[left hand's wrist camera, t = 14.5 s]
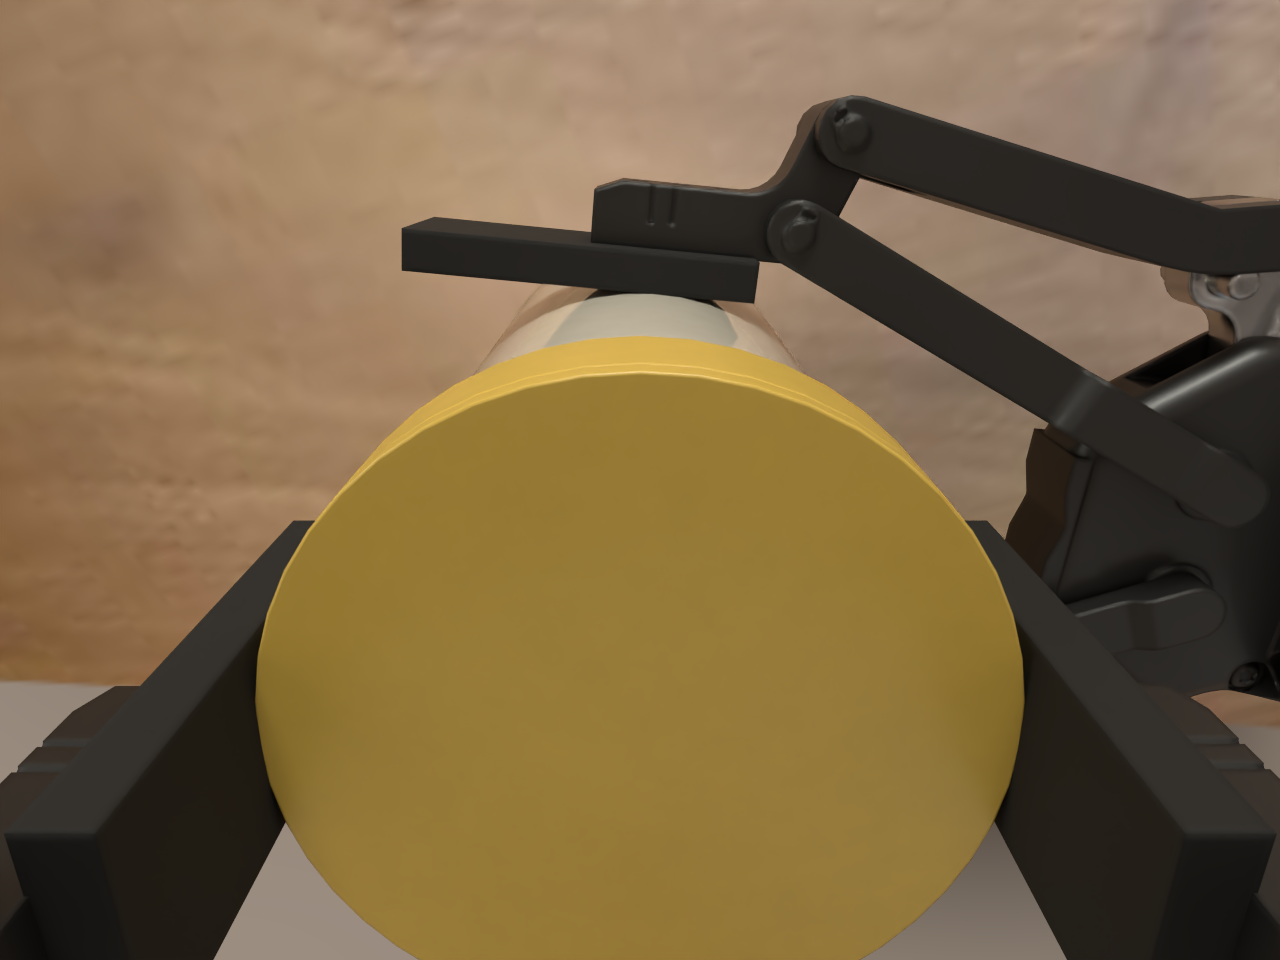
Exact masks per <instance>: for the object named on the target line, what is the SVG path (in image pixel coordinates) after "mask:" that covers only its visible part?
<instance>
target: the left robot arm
mask: <svg viewBox="0 0 1280 960" xmlns="http://www.w3.org/2000/svg"><path fill="white" fill-rule="evenodd" d="M314 522H315V521H293V522H292V523H291V524H290V525H289V526H288V527H287V528H286V529H285V530H284V532H283V533H282V534H281V535H280V536H279V537H278V538H277V539H276V540H275V541H274V542H273V543H272V545H271V546H270V547H269V548H268V549H267V550H266V551H265V552H264V553H263V554H262V555H261V556H260V557H259V559H258V560H257V561H256V562H255V563H254V564H253V565H252V566H251V567H250V568H249V569H248V570H247V571H246V573H245V574H244V575H243V576H242V577H241V578H240V579H239V580H238V581H237V582H236V583H235V584H234V585H233V587H232V588H231V589H230V590H229V591H228V592H227V593H226V594H225V595H224V596H223V597H222V598H221V600H220V601H219V602H218V603H217V604H216V605H215V606H214V607H213V608H212V609H211V610H210V611H209V612H208V614H207V615H206V616H205V617H204V618H203V619H202V620H201V621H200V622H199V623H198V624H197V625H196V626H195V628H194V629H193V630H192V631H191V632H190V633H189V634H188V635H187V636H186V637H185V638H184V639H183V641H182V642H181V643H180V644H179V645H178V646H177V647H176V648H175V649H174V650H173V651H172V652H171V653H170V655H169V656H168V657H167V658H166V659H165V660H164V661H163V662H162V663H161V664H160V665H159V666H158V667H157V669H156V670H155V671H154V672H153V673H152V674H151V675H150V676H149V677H148V678H147V679H146V680H145V682H144V683H143V684H142V685H141V686H115V687H113V688H111V689H110V690H108V691H106V692H105V693H103V694H101V695H100V696H98V697H96V698H95V699H93V700H91V701H90V702H88V703H86V704H85V705H83V706H81V707H80V708H78V709H76V710H75V711H73V712H72V713H71V714H70V715H69V716H68V717H67V718H66V719H65V720H64V721H63V722H62V723H61V724H60V725H59V726H58V727H57V728H56V729H55V730H54V731H53V732H52V733H51V734H50V735H49V736H48V737H47V738H46V739H45V740H44V741H43V746H42V747H37V748H36V749H35V750H34V751H33V752H32V753H31V754H30V755H29V756H28V757H27V758H26V759H25V760H24V761H23V762H22V763H21V764H20V765H19V766H18V771H17V773H11V774H10V775H9V776H8V777H7V778H6V779H5V780H3V781H2V782H1V784H0V960H213V959H214V957H215V956H216V954H217V952H218V950H219V948H220V946H221V944H222V942H223V940H224V939H225V937H226V935H227V933H228V931H229V929H230V927H231V925H232V923H233V921H234V919H235V918H236V916H237V914H238V912H239V910H240V908H241V906H242V904H243V902H244V900H245V899H246V897H247V895H248V893H249V891H250V889H251V887H252V885H253V883H254V881H255V879H256V878H257V876H258V874H259V872H260V870H261V868H262V866H263V864H264V862H265V860H266V858H267V857H268V855H269V853H270V851H271V849H272V847H273V845H274V843H275V841H276V839H277V838H278V836H279V834H280V832H281V830H282V828H283V826H284V824H285V822H286V821H285V819H284V817H283V814H282V812H281V810H280V807H279V805H278V802H277V800H276V798H275V795H274V793H273V791H272V788H271V786H270V783H269V779H268V775H267V770H266V765H265V760H264V755H263V750H262V745H261V739H260V733H259V727H258V721H257V714H256V705H255V693H256V675H257V658H258V652H259V648H260V643H261V639H262V634H263V630H264V625H265V621H266V616H267V612H268V610H269V607H270V605H271V602H272V600H273V597H274V595H275V592H276V589H277V587H278V584H279V582H280V579H281V577H282V574H283V572H284V570H285V568H286V566H287V565H288V563H289V561H290V560H291V558H292V556H293V554H294V553H295V551H296V549H297V548H298V546H299V544H300V543H301V541H302V539H303V537H304V536H305V534H306V532H307V531H308V529H309V528H310V527H311V526H312V524H313V523H314ZM965 522H966V523H967V524H968V526H969V527H970V528H971V529H972V530H973V532H974V534H975V535H976V537H977V539H978V541H979V542H980V544H981V546H982V547H983V549H984V551H985V553H986V554H987V556H988V558H989V560H990V561H991V563H992V565H993V566H994V568H995V570H996V572H997V574H998V577H999V579H1000V582H1001V584H1002V587H1003V589H1004V592H1005V595H1006V597H1007V600H1008V602H1009V605H1010V608H1011V610H1012V613H1013V616H1014V620H1015V625H1016V630H1017V635H1018V639H1019V644H1020V649H1021V653H1022V658H1023V678H1024V697H1025V704H1024V714H1023V721H1022V727H1021V733H1020V739H1019V745H1018V750H1017V755H1016V760H1015V765H1014V770H1013V774H1012V778H1011V782H1010V785H1009V788H1008V790H1007V792H1006V795H1005V797H1004V799H1003V802H1002V804H1001V806H1000V809H999V811H998V813H997V816H996V818H995V820H994V821H995V823H996V825H997V827H998V829H999V831H1000V833H1001V835H1002V836H1003V839H1004V840H1005V842H1006V844H1007V846H1008V848H1009V850H1010V852H1011V854H1012V856H1013V858H1014V859H1015V861H1016V863H1017V865H1018V867H1019V869H1020V871H1021V873H1022V875H1023V877H1024V879H1025V880H1026V882H1027V884H1028V886H1029V888H1030V890H1031V892H1032V894H1033V896H1034V898H1035V899H1036V901H1037V903H1038V905H1039V907H1040V909H1041V911H1042V913H1043V915H1044V917H1045V919H1046V920H1047V922H1048V924H1049V926H1050V928H1051V930H1052V932H1053V934H1054V936H1055V938H1056V940H1057V941H1058V943H1059V945H1060V947H1061V949H1062V951H1063V953H1064V955H1065V957H1066V959H1067V960H1280V779H1279V778H1278V777H1277V776H1276V775H1275V774H1274V773H1273V772H1272V771H1271V770H1270V769H1264V766H1263V765H1264V763H1263V762H1262V761H1261V760H1260V759H1259V758H1258V757H1257V756H1256V755H1255V754H1254V753H1253V752H1252V751H1251V750H1250V749H1249V748H1248V747H1247V746H1246V745H1245V744H1239V741H1238V737H1237V736H1236V735H1235V734H1234V733H1233V732H1232V731H1231V730H1230V729H1229V728H1228V727H1227V726H1226V725H1225V724H1224V723H1223V722H1222V721H1221V720H1220V719H1219V718H1218V717H1217V716H1216V715H1215V714H1214V713H1213V712H1212V711H1211V710H1210V709H1208V708H1207V707H1205V706H1203V705H1202V704H1200V703H1198V702H1197V701H1195V700H1193V699H1192V698H1190V697H1188V696H1187V695H1185V694H1183V693H1181V692H1180V691H1178V690H1176V689H1175V688H1173V687H1171V686H1170V685H1168V684H1166V683H1137V682H1136V681H1135V680H1134V679H1133V678H1132V677H1131V676H1130V674H1129V673H1128V672H1127V671H1126V670H1125V669H1124V668H1123V667H1122V666H1121V665H1120V664H1119V663H1118V662H1117V660H1116V659H1115V658H1114V657H1113V656H1112V655H1111V654H1110V653H1109V652H1108V651H1107V650H1106V649H1105V648H1104V646H1103V645H1102V644H1101V643H1100V642H1099V641H1098V640H1097V639H1096V638H1095V637H1094V636H1093V635H1092V633H1091V632H1090V631H1089V630H1088V629H1087V628H1086V627H1085V626H1084V625H1083V624H1082V623H1081V622H1080V621H1079V619H1078V618H1077V617H1076V616H1075V615H1074V614H1073V613H1072V612H1071V611H1070V610H1069V609H1068V608H1067V607H1066V605H1065V604H1064V603H1063V602H1062V601H1061V600H1060V599H1059V598H1058V597H1057V596H1056V595H1055V594H1054V593H1053V591H1052V590H1051V589H1050V588H1049V587H1048V586H1047V585H1046V584H1045V583H1044V582H1043V581H1042V580H1041V578H1040V577H1039V576H1038V575H1037V574H1036V573H1035V572H1034V571H1033V570H1032V569H1031V568H1030V567H1029V566H1028V564H1027V563H1026V562H1025V561H1024V560H1023V559H1022V558H1021V557H1020V556H1019V555H1018V554H1017V553H1016V552H1015V550H1014V549H1013V548H1012V547H1011V546H1010V545H1009V544H1008V543H1007V542H1006V541H1005V540H1004V539H1003V538H1002V536H1001V535H1000V534H999V533H998V532H997V531H996V530H995V529H994V528H993V527H992V526H991V525H990V523H989V522H988V521H965Z"/></svg>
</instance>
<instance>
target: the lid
mask: <svg viewBox="0 0 1280 960" xmlns="http://www.w3.org/2000/svg"><path fill="white" fill-rule="evenodd" d="M1024 704H1025V697H1024V678H1023V658H1022V653H1021V649H1020V644H1019V639H1018V635H1017V630H1016V625H1015V620H1014V616H1013V613H1012V610H1011V608H1010V605H1009V602H1008V600H1007V597H1006V595H1005V592H1004V589H1003V587H1002V584H1001V582H1000V579H999V577H998V574H997V572H996V570H995V568H994V566H993V565H992V563H991V561H990V560H989V558H988V556H987V554H986V553H985V551H984V549H983V547H982V546H981V544H980V542H979V541H978V539H977V537H976V535H975V534H974V532H973V530H972V529H971V528H970V527H969V526H968V524H967V523H966V522H965V521H964V519H963V518H962V517H961V516H960V514H959V513H958V512H957V511H956V509H955V508H954V507H953V506H952V505H951V503H950V502H949V501H948V500H947V498H946V497H945V496H944V495H943V493H942V492H941V491H940V490H939V489H938V488H937V486H936V485H935V484H934V483H933V482H932V481H931V480H930V478H929V477H928V476H927V475H926V474H925V473H924V472H923V470H922V469H921V468H920V467H919V466H918V465H917V464H916V462H915V461H914V460H913V459H912V458H911V457H910V456H909V454H908V453H907V452H906V451H905V450H904V449H903V448H902V446H901V445H900V444H899V443H898V442H897V441H896V440H895V439H894V438H893V437H892V436H890V435H889V434H888V433H887V432H886V431H885V430H884V429H883V428H882V427H881V426H880V425H879V424H877V423H876V422H875V421H874V420H873V419H872V418H871V417H870V416H869V415H868V414H867V413H866V412H864V411H863V410H861V409H860V408H858V407H857V406H856V405H854V404H853V403H851V402H850V401H848V400H847V399H845V398H844V397H842V396H841V395H840V394H838V393H837V392H835V391H834V390H832V389H831V388H829V387H828V386H826V385H824V384H822V383H820V382H818V381H816V380H814V379H812V378H810V377H808V376H806V375H804V374H802V373H800V372H798V371H796V370H794V369H792V368H790V367H788V366H786V365H784V364H782V363H779V362H776V361H773V360H770V359H767V358H764V357H761V356H758V355H755V354H752V353H749V352H747V351H744V350H741V349H737V348H732V347H727V346H722V345H717V344H712V343H707V342H702V341H697V340H692V339H681V338H666V337H651V336H630V337H614V338H598V339H588V340H583V341H578V342H573V343H568V344H563V345H558V346H553V347H547V348H543V349H540V350H537V351H534V352H531V353H528V354H525V355H522V356H519V357H516V358H513V359H510V360H507V361H504V362H501V363H498V364H496V365H494V366H492V367H490V368H488V369H486V370H484V371H482V372H480V373H478V374H476V375H474V376H471V377H469V378H467V379H465V380H463V381H461V382H459V383H457V384H455V385H454V386H452V387H451V388H449V389H448V390H446V391H445V392H443V393H442V394H440V395H439V396H437V397H436V398H435V399H433V400H432V401H430V402H429V403H427V404H426V405H424V406H423V407H421V408H420V409H418V410H417V411H416V412H415V413H413V414H412V415H411V416H410V417H409V418H408V419H407V420H406V421H405V422H404V423H402V424H401V425H400V426H399V427H398V428H397V429H396V430H395V431H394V432H393V433H391V434H390V435H389V436H388V437H387V438H386V439H385V440H384V441H383V442H382V443H381V444H380V445H379V446H378V448H377V449H376V450H375V451H374V452H373V453H372V454H371V456H370V457H369V458H368V459H367V460H366V461H365V463H364V464H363V465H362V466H361V467H360V468H359V469H358V471H357V472H356V473H355V474H354V475H353V476H352V478H351V479H350V480H349V481H348V482H347V483H346V484H345V486H344V487H343V488H342V489H341V490H340V491H339V493H338V494H337V495H336V496H335V497H334V499H333V500H332V501H331V502H330V504H329V505H328V506H327V507H326V508H325V510H324V511H323V512H322V513H321V515H320V516H319V517H318V518H317V519H316V521H315V522H314V523H313V524H312V526H311V527H310V528H309V529H308V531H307V532H306V534H305V536H304V537H303V539H302V541H301V543H300V544H299V546H298V548H297V549H296V551H295V553H294V554H293V556H292V558H291V560H290V561H289V563H288V565H287V566H286V568H285V570H284V572H283V574H282V577H281V579H280V582H279V584H278V587H277V589H276V592H275V595H274V597H273V600H272V602H271V605H270V607H269V610H268V612H267V616H266V621H265V625H264V630H263V634H262V639H261V643H260V648H259V652H258V658H257V675H256V693H255V705H256V714H257V721H258V727H259V733H260V739H261V745H262V750H263V755H264V760H265V765H266V770H267V775H268V779H269V783H270V786H271V788H272V791H273V793H274V795H275V798H276V800H277V802H278V805H279V807H280V810H281V812H282V814H283V817H284V819H285V821H286V823H287V825H288V827H289V828H290V830H291V832H292V833H293V835H294V837H295V838H296V840H297V842H298V843H299V845H300V847H301V848H302V850H303V852H304V853H305V855H306V857H307V858H308V860H309V861H310V862H311V863H312V865H313V866H314V867H315V868H316V870H317V871H318V872H319V874H320V875H321V876H322V877H323V879H324V880H325V881H326V882H327V884H328V885H329V886H330V887H331V889H332V890H333V891H334V892H335V893H336V894H337V895H338V896H339V897H340V898H341V899H342V900H343V901H344V902H345V903H346V904H347V905H348V906H349V907H350V908H351V909H352V910H353V911H354V912H355V913H356V914H357V915H358V916H359V917H360V918H361V919H362V920H364V921H365V922H366V923H367V924H369V925H370V926H371V927H373V928H374V929H375V930H377V931H378V932H379V933H380V934H382V935H383V936H384V937H386V938H387V939H388V940H390V941H391V942H392V943H393V944H395V945H396V946H397V947H399V948H401V949H402V950H404V951H406V952H407V953H409V954H411V955H412V956H414V957H416V958H417V959H419V960H861V959H862V958H864V957H866V956H867V955H869V954H871V953H872V952H874V951H876V950H877V949H879V948H880V947H882V946H883V945H885V944H886V943H887V942H889V941H890V940H891V939H893V938H894V937H895V936H896V935H898V934H899V933H900V932H902V931H903V930H904V929H906V928H907V927H908V926H909V925H911V924H912V923H913V922H915V921H916V920H917V919H918V918H919V917H920V916H921V915H922V914H923V913H924V912H925V911H926V910H927V909H928V908H929V907H930V906H931V905H932V904H933V903H934V902H935V901H936V900H937V899H939V898H940V897H941V896H942V895H943V894H944V893H945V892H946V891H947V889H948V888H949V887H950V885H951V884H952V883H953V882H954V881H955V879H956V878H957V877H958V875H959V874H960V873H961V872H962V870H963V869H964V868H965V867H966V865H967V864H968V863H969V862H970V860H971V859H972V858H973V856H974V854H975V853H976V851H977V849H978V848H979V846H980V844H981V843H982V841H983V839H984V838H985V836H986V834H987V833H988V831H989V829H990V828H991V826H992V825H993V823H994V820H995V818H996V816H997V813H998V811H999V809H1000V806H1001V804H1002V802H1003V799H1004V797H1005V795H1006V792H1007V790H1008V788H1009V785H1010V782H1011V778H1012V774H1013V770H1014V765H1015V760H1016V755H1017V750H1018V745H1019V739H1020V733H1021V727H1022V721H1023V714H1024Z"/></svg>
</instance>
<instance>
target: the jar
mask: <svg viewBox="0 0 1280 960" xmlns="http://www.w3.org/2000/svg"><path fill="white" fill-rule="evenodd" d="M630 336H651V337H666V338H681V339H692V340H697V341H702V342H707V343H712V344H717V345H722V346H727V347H732V348H737V349H741V350H744V351H747V352H749V353H752V354H755V355H758V356H761V357H764V358H767V359H770V360H773V361H776V362H779V363H782V364H784V365H786V366H788V367H790V368H792V369H794V370H796V371H798V372H800V373H802V374H804V375H806V374H805V373H804V371H803V370H802V369H801V367H800V366H799V365H798V363H797V362H796V360H795V359H794V358H793V356H792V355H791V354H790V352H789V351H788V349H787V348H786V347H785V345H784V344H783V343H782V341H781V340H780V339H779V337H778V336H777V334H776V333H775V332H774V330H773V329H772V328H771V326H770V325H769V323H768V322H767V321H766V319H765V318H764V317H763V315H762V314H761V312H760V311H759V310H758V308H757V307H756V306H755V304H751V303H740V302H730V301H719V300H708V299H698V298H687V297H677V296H666V295H656V294H645V293H634V292H624V291H613V290H602V289H592V288H581V287H571V286H560V285H550V284H542V285H541V286H540V287H539V288H538V289H537V290H536V291H535V292H534V293H533V294H532V296H531V297H530V298H529V299H528V300H527V301H526V303H525V304H524V305H523V307H522V308H521V310H520V311H519V312H518V314H517V315H516V316H515V318H514V319H513V321H512V322H511V323H510V325H509V326H508V327H507V329H506V330H505V332H504V333H503V334H502V336H501V337H500V339H499V340H498V341H497V343H496V344H495V345H494V347H493V348H492V350H491V351H490V352H489V354H488V355H487V356H486V358H485V359H484V361H483V362H482V363H481V365H480V366H479V367H478V369H477V370H476V372H475V373H474V374H473V376H474V375H476V374H478V373H480V372H482V371H484V370H486V369H488V368H490V367H492V366H494V365H496V364H498V363H501V362H504V361H507V360H510V359H513V358H516V357H519V356H522V355H525V354H528V353H531V352H534V351H537V350H540V349H543V348H547V347H553V346H558V345H563V344H568V343H573V342H578V341H583V340H588V339H598V338H614V337H630Z"/></svg>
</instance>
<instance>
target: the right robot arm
mask: <svg viewBox="0 0 1280 960" xmlns="http://www.w3.org/2000/svg"><path fill="white" fill-rule="evenodd" d="M859 178H860V179H864V180H867V181H870V182H874V183H877V184H880V185H883V186H887V187H890V188H893V189H896V190H900V191H903V192H906V193H909V194H913V195H916V196H919V197H923V198H926V199H929V200H932V201H936V202H939V203H942V204H945V205H949V206H952V207H955V208H959V209H962V210H965V211H968V212H972V213H975V214H978V215H981V216H985V217H988V218H991V219H994V220H998V221H1001V222H1004V223H1008V224H1011V225H1014V226H1017V227H1021V228H1024V229H1027V230H1030V231H1034V232H1037V233H1040V234H1044V235H1047V236H1050V237H1053V238H1057V239H1060V240H1063V241H1066V242H1070V243H1073V244H1076V245H1079V246H1083V247H1086V248H1089V249H1093V250H1096V251H1099V252H1103V253H1107V254H1111V255H1115V256H1119V257H1124V258H1128V259H1132V260H1137V261H1141V262H1145V263H1150V264H1154V265H1159V266H1161V269H1160V272H1161V277H1162V278H1163V280H1164V284H1165V287H1166V290H1167V292H1168V293H1169V294H1170V296H1171V297H1173V298H1174V299H1176V300H1177V301H1180V302H1184V303H1187V304H1191V305H1194V306H1198V307H1199V308H1201V309H1202V310H1203V311H1204V313H1205V314H1206V316H1207V319H1208V322H1209V331H1207V332H1204V333H1202V334H1200V335H1198V336H1196V337H1194V338H1192V339H1190V340H1188V341H1186V342H1184V343H1182V344H1180V345H1179V346H1177V347H1175V348H1173V349H1171V350H1169V351H1167V352H1165V353H1163V354H1161V355H1159V356H1157V357H1156V358H1154V359H1152V360H1150V361H1148V362H1146V363H1144V364H1142V365H1140V366H1138V367H1136V368H1134V369H1132V370H1130V371H1129V372H1127V373H1125V374H1123V375H1121V376H1119V377H1117V378H1115V379H1113V380H1111V381H1109V382H1107V381H1106V380H1104V379H1102V378H1100V377H1098V376H1097V375H1095V374H1093V373H1091V372H1090V371H1088V370H1086V369H1084V368H1083V367H1081V366H1079V365H1078V364H1076V363H1075V362H1073V361H1071V360H1070V359H1068V358H1066V357H1065V356H1063V355H1062V354H1060V353H1058V352H1057V351H1055V350H1053V349H1052V348H1050V347H1049V346H1047V345H1045V344H1044V343H1042V342H1040V341H1039V340H1037V339H1036V338H1034V337H1032V336H1031V335H1029V334H1027V333H1026V332H1024V331H1023V330H1021V329H1019V328H1018V327H1016V326H1015V325H1013V324H1011V323H1010V322H1008V321H1006V320H1005V319H1003V318H1002V317H1000V316H998V315H997V314H995V313H993V312H992V311H990V310H989V309H987V308H985V307H984V306H982V305H980V304H979V303H977V302H976V301H974V300H972V299H971V298H969V297H967V296H966V295H964V294H963V293H961V292H959V291H958V290H956V289H954V288H953V287H951V286H950V285H948V284H946V283H945V282H943V281H941V280H940V279H938V278H937V277H935V276H933V275H932V274H930V273H928V272H927V271H925V270H924V269H922V268H920V267H919V266H917V265H916V264H914V263H912V262H911V261H909V260H907V259H906V258H904V257H903V256H901V255H899V254H898V253H896V252H894V251H893V250H891V249H890V248H888V247H886V246H885V245H883V244H881V243H880V242H878V241H877V240H875V239H873V238H872V237H870V236H868V235H867V234H865V233H864V232H862V231H860V230H859V229H857V228H855V227H854V226H852V225H851V224H849V223H847V222H846V221H844V220H842V219H841V218H839V215H840V213H841V211H842V210H843V208H844V206H845V204H846V202H847V200H848V198H849V196H850V195H851V193H852V191H853V189H854V187H855V185H856V183H857V181H858V179H859ZM759 261H762V262H772V263H782V264H783V265H785V266H787V267H788V268H790V269H792V270H793V271H795V272H797V273H798V274H800V275H802V276H803V277H805V278H807V279H808V280H810V281H812V282H813V283H815V284H817V285H818V286H820V287H822V288H823V289H825V290H827V291H828V292H830V293H832V294H833V295H835V296H837V297H838V298H840V299H842V300H843V301H845V302H847V303H849V304H850V305H852V306H854V307H855V308H857V309H859V310H860V311H862V312H864V313H865V314H867V315H869V316H870V317H872V318H874V319H875V320H877V321H879V322H880V323H882V324H884V325H885V326H887V327H889V328H890V329H892V330H894V331H895V332H897V333H899V334H900V335H902V336H904V337H905V338H907V339H909V340H910V341H912V342H914V343H916V344H917V345H919V346H921V347H922V348H924V349H926V350H927V351H929V352H931V353H932V354H934V355H936V356H937V357H939V358H941V359H942V360H944V361H946V362H947V363H949V364H951V365H952V366H954V367H956V368H957V369H959V370H961V371H962V372H964V373H966V374H967V375H969V376H971V377H972V378H974V379H976V380H977V381H979V382H981V383H982V384H984V385H986V386H988V387H989V388H991V389H993V390H994V391H996V392H998V393H999V394H1001V395H1003V396H1004V397H1006V398H1008V399H1009V400H1011V401H1013V402H1014V403H1016V404H1018V405H1019V406H1021V407H1023V408H1024V409H1026V410H1028V411H1029V412H1031V413H1033V414H1034V415H1036V416H1038V417H1039V418H1041V419H1043V420H1044V421H1046V422H1048V423H1049V424H1048V426H1047V427H1046V429H1035V428H1034V432H1033V435H1032V439H1031V443H1030V447H1029V451H1028V455H1027V458H1026V495H1025V497H1024V499H1023V501H1022V503H1021V504H1020V506H1019V508H1018V510H1017V511H1016V513H1015V515H1014V517H1013V519H1012V520H1011V522H1010V524H1009V527H1008V531H1007V535H1006V539H1005V541H1006V542H1007V543H1008V544H1009V545H1010V546H1011V547H1012V548H1013V549H1014V550H1015V552H1016V553H1017V554H1018V555H1019V556H1020V557H1021V558H1022V559H1023V560H1024V561H1025V562H1026V563H1027V564H1028V566H1029V567H1030V568H1031V569H1032V570H1033V571H1034V572H1035V573H1036V574H1037V575H1038V576H1039V577H1040V578H1041V580H1042V581H1043V582H1044V583H1045V584H1046V585H1047V586H1048V587H1049V588H1050V589H1051V590H1052V591H1053V593H1054V594H1055V595H1056V596H1057V597H1058V598H1059V599H1060V600H1061V601H1062V602H1063V603H1064V604H1065V605H1066V607H1067V608H1068V609H1069V610H1070V611H1071V612H1072V613H1073V614H1074V615H1075V616H1076V617H1077V618H1078V619H1079V621H1080V622H1081V623H1082V624H1083V625H1084V626H1085V627H1086V628H1087V629H1088V630H1089V631H1090V632H1091V633H1092V635H1093V636H1094V637H1095V638H1096V639H1097V640H1098V641H1099V642H1100V643H1101V644H1102V645H1103V646H1104V648H1105V649H1106V650H1107V651H1108V652H1109V653H1110V654H1111V655H1112V656H1113V657H1114V658H1115V659H1116V660H1117V662H1118V663H1119V664H1120V665H1121V666H1122V667H1123V668H1124V669H1125V670H1126V671H1127V672H1128V673H1129V674H1130V676H1131V677H1132V678H1133V679H1134V680H1135V681H1136V682H1137V683H1166V684H1168V685H1170V686H1171V687H1173V688H1175V689H1176V690H1178V691H1180V692H1181V693H1183V694H1185V695H1187V696H1188V697H1192V696H1195V695H1198V694H1202V693H1206V692H1211V691H1218V690H1232V691H1237V692H1242V693H1246V694H1251V695H1255V696H1259V697H1263V698H1267V699H1271V700H1275V701H1279V702H1280V199H1274V198H1261V197H1249V196H1237V195H1227V196H1213V197H1200V198H1185V197H1182V196H1178V195H1175V194H1172V193H1169V192H1166V191H1163V190H1159V189H1156V188H1153V187H1150V186H1147V185H1144V184H1140V183H1137V182H1134V181H1131V180H1128V179H1125V178H1121V177H1118V176H1115V175H1112V174H1109V173H1106V172H1102V171H1099V170H1096V169H1093V168H1090V167H1087V166H1083V165H1080V164H1077V163H1074V162H1071V161H1068V160H1064V159H1061V158H1058V157H1055V156H1052V155H1049V154H1045V153H1042V152H1039V151H1036V150H1033V149H1030V148H1026V147H1023V146H1020V145H1017V144H1014V143H1011V142H1007V141H1004V140H1001V139H998V138H995V137H992V136H988V135H985V134H982V133H979V132H976V131H973V130H969V129H966V128H963V127H960V126H957V125H954V124H950V123H947V122H944V121H941V120H938V119H935V118H931V117H928V116H925V115H922V114H919V113H916V112H912V111H909V110H906V109H903V108H900V107H897V106H893V105H890V104H887V103H884V102H881V101H878V100H874V99H871V98H868V97H865V96H853V95H851V96H847V97H843V98H838V99H834V100H830V101H825V102H823V103H820V104H817V105H814V106H812V107H811V108H810V109H809V110H808V111H806V112H805V113H804V114H803V116H802V118H801V120H800V121H799V123H798V125H797V132H796V136H795V138H794V140H793V142H792V144H791V146H790V148H789V150H788V152H787V154H786V156H785V158H784V160H783V162H782V164H781V166H780V168H779V169H778V171H777V172H776V174H775V175H774V176H773V177H772V178H771V179H770V180H769V181H767V182H766V183H764V184H762V185H761V186H759V187H755V188H752V189H729V188H719V187H709V186H699V185H689V184H679V183H669V182H659V181H648V180H638V179H628V178H622V179H619V180H616V181H613V182H609V183H606V184H603V185H600V186H597V187H596V188H595V189H594V202H593V216H592V230H591V232H584V231H574V230H563V229H553V228H543V227H532V226H522V225H512V224H501V223H491V222H481V221H470V220H460V219H450V218H439V217H433V218H430V219H427V220H424V221H421V222H418V223H416V224H413V225H410V226H407V227H404V228H402V271H412V272H423V273H433V274H444V275H454V276H465V277H475V278H486V279H497V280H507V281H518V282H528V283H539V284H550V285H560V286H571V287H581V288H592V289H602V290H613V291H624V292H634V293H645V294H656V295H666V296H677V297H687V298H698V299H708V300H719V301H730V302H740V303H751V304H754V300H755V293H756V286H757V279H758V272H759V264H760V262H759Z"/></svg>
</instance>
